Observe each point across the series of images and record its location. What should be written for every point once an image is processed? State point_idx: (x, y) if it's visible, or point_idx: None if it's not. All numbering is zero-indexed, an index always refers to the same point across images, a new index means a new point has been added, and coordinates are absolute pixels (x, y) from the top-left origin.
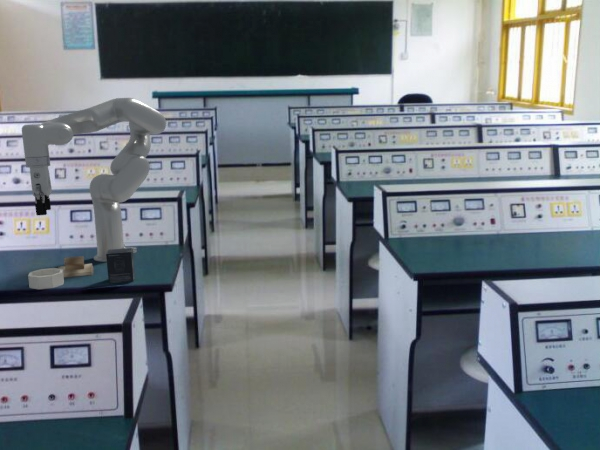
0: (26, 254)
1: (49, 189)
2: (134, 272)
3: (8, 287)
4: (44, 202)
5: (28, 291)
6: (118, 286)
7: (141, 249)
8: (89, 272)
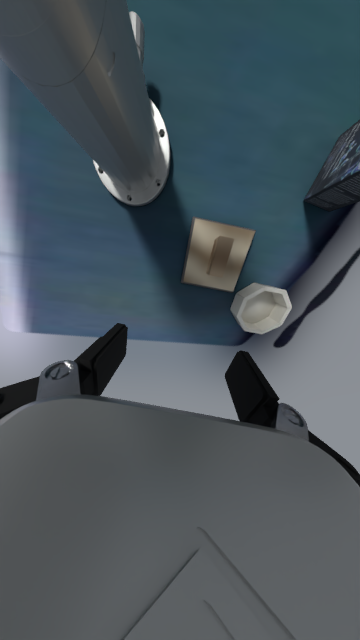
0: (55, 311)
1: (270, 526)
2: (357, 123)
3: (224, 343)
4: (280, 405)
5: None
6: None
7: None
8: (252, 236)
